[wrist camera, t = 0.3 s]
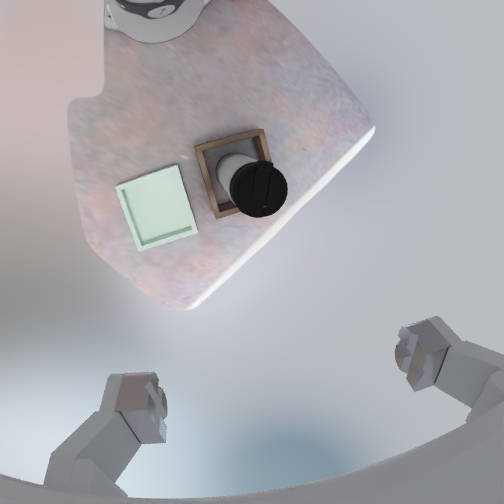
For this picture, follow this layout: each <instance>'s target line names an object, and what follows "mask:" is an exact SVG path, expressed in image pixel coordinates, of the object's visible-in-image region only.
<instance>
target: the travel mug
mask: <svg viewBox="0 0 504 504" xmlns="http://www.w3.org/2000/svg"><path fill="white" fill-rule="evenodd" d="M216 177H217V179H218V181H219V183H220V184H221V186H222V187H223V188H224V190H225V191H226V193H227V194H228V196H229V197H230V199H231V200H232V201H233V203H234V204H235V205H236V206H237V208H238V209H239V210H240V211H241V212H242V213H244V214H246V215H249V216H251V217H256V218H259V217H264V216H269V215H272V214H274V213H275V212H277V211H278V210H279V209H280V208H281V207H282V205H283V204H284V202H285V200H286V197H287V191H288V188H287V182H286V179H285V178H284V176H283V174H282V173H281V172H280V171H279V170H277V169H276V168H274V167H273V163H272V162H270V161H264V160H259V161H258V160H256V159H253V158H250V157H248V156H245V155H242V154H239V153H230V154H227V155H225V156H224V157H222V158H221V159H220V161H219V162H218V164H217V167H216Z"/></svg>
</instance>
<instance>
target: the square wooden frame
mask: <svg viewBox="0 0 504 504" xmlns="http://www.w3.org/2000/svg"><path fill="white" fill-rule="evenodd" d="M250 137H254V141H255V145H256V149H257V153H258V157H259V160H264V161H270V162H271V158H270V153H269V149H268V145H267V141H266V137H265V133H264V129H255V130H251V131H247V132H243V133H239V134H236V135H232V136H228V137H224V138H221V139H217V140H214V141H210V142H207V143H203V144H200V145H197V146H194V147H195V151H196V154H197V158H198V161H199V164H200V168H201V171H202V175H203V178H204V182H205V185H206V188H207V192H208V195H209V199H210V202H211V205H212V209H213V212H214V215H215V217H216V219H218V218H221V217H225V216H228V215H231V214H235V213H238V212H241V211H240V210H239V209H238V208H237V206H236V205H235V204H234V203H233V201H231V202H227V203H224V204H221V205H217V202H216V199H215V195H214V192H213V188H212V185H211V181H210V178H209V174H208V171H207V168H206V164H205V161H204V157H203V154H202V151H203V150H206V149H210V148H213V147H217V146H220V145H224V144H228V143H231V142H235V141H239V140H242V139H246V138H250Z"/></svg>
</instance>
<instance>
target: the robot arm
mask: <svg viewBox="0 0 504 504" xmlns="http://www.w3.org/2000/svg"><path fill="white" fill-rule="evenodd" d="M210 1H211V0H105V9H104V25H105V27H106V28H108V29H111V30H117V31H121V32H123V33H125V34H126V35H127V36H129V37H130V38H132V39H134V40H137V41H140V42H146V43H158V42H164V41H168V40H171V39H174V38H176V37H178V36H180V35H182V34H183V33H185V32H186V31H187V30H188V29H190V28H191V27H192V25H193V24H194V23H195V22H196V20H197V19H198V17H199V15H200V13H201V11H202V9H203V7H204V6H206V5H207V4H208V3H209V2H210ZM109 16H111V18H109ZM399 338H400V339H401V340H400V341H399V343H398V344H397V345H396V349H395V360H396V362H397V365H398V367H399V369H400V370H401V371H403V372H405V373H407V378H406V379H407V381H408V382H409V384H410V385H411V387H412V388H413V390H414V391H415V392H416V391H419V390H421V389H424V388H427V387H429V386H432V385H434V386H435V387H437V388H439V389H440V390H442V391H443V392H445V393H447V394H449V395H450V396H452V397H454V398H455V399H457V400H459V401H460V402H462V403H464V404H465V405H467V406H469V407H470V408H472V410H471V412H470V413H469V415H468V416H467V419H466V422H467V423H466V424H464V425H462V426H460V427H458V428H456V429H455V430H453V431H450V432H449V433H447V434H444V435H443V436H440V437H438V438H436V439H434V440H432V441H430V442H428V443H425V444H423V445H421V446H419V447H416V448H414V449H411V450H409V451H407V452H404V453H402V454H399V455H397V456H394V457H391V458H389V459H386V460H384V461H380V462H378V463H375V464H372V465H369V466H366V467H363V468H360V469H357V470H353V471H350V472H347V473H343V474H340V475H336V476H333V477H329V478H325V479H321V480H317V481H313V482H309V483H305V484H300V485H295V486H290V487H285V488H280V489H274V490H268V491H262V492H255V493H247V494H240V495H231V496H220V497H206V498H184V499H150V498H128V497H127V494H126V493H125V492H124V491H123V490H122V489H121V488H120V487H119V486H117V485H116V484H115V482H116V480H117V479H118V477H119V476H120V474H121V473H122V472H123V470H124V469H125V468H126V466H127V465H128V463H129V462H130V461H131V459H132V458H133V456H134V455H135V453H136V452H137V451H138V449H139V448H140V446H141V444H151V443H166V424H165V423H164V421H163V420H164V419H165V417H166V416H167V400H166V396H165V393H164V391H163V389H162V388H161V387H159V386H158V381H159V379H158V377H157V375H156V373H155V372H142V373H125V374H111V375H110V376H109V377H108V380H107V384H106V387H105V391H104V395H103V398H102V403H101V406H100V410H99V412H94V413H93V414H92V415H91V416H90V417H89V418H88V419H87V420H86V421H85V422H84V423H83V424H82V425H81V426H80V427H79V428H78V429H77V430H76V431H75V432H73V433H72V434H71V435H70V436H69V437H68V438H67V439H66V440H65V441H64V442H63V443H62V444H61V445H60V446H59V447H58V448H57V449H56V450H55V451H53V452H52V453H51V457H50V460H49V464H48V468H47V472H46V476H45V480H44V484H43V485H39V484H35V483H31V482H27V481H23V480H20V479H16V478H12V477H9V476H6V475H2V474H0V504H504V355H502V354H500V353H497V352H495V351H492V350H490V349H487V348H484V347H482V346H479V345H476V344H474V343H471V342H468V341H462V340H461V339H460V338H459V337H458V336H457V335H456V334H455V333H454V332H453V330H452V329H451V328H450V327H449V326H448V325H447V324H446V323H445V322H444V321H443V320H442V319H441V318H440V317H438V316H435V317H432V318H428V319H426V320H423V321H419V322H416V323H413V324H409V325H406V326H403V327H401V329H400V331H399Z"/></svg>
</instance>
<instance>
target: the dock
mask: <svg viewBox="0 0 504 504" xmlns="http://www.w3.org/2000/svg"><path fill="white" fill-rule="evenodd" d="M115 188H116V191H117V194H118V197H119V200H120V203H121V206H122V209H123V211H124V214H125V217H126V220H127V222H128V225H129V228H130V230H131V233H132V236H133V238H134V241H135V243H136V246H137V248H138V251H139V252H140V251H143V250H146V249H149V248H152V247H155V246H158V245H161V244H165V243H168V242H171V241H174V240H177V239H180V238H183V237H186V236H189V235H192V234H195V233H198V228H197V224H196V221H195V218H194V215H193V212H192V209H191V206H190V202H189V199H188V196H187V193H186V190H185V186H184V183H183V180H182V177H181V173H180V170H179V167H178V164H176V165H173V166H170V167H166V168H163V169H160V170H158V171H155V172H152V173H149V174H146V175H143V176H140V177H137V178H135V179H132V180H129V181H126V182H124V183H121V184H118V185H117V186H116V187H115Z"/></svg>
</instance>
